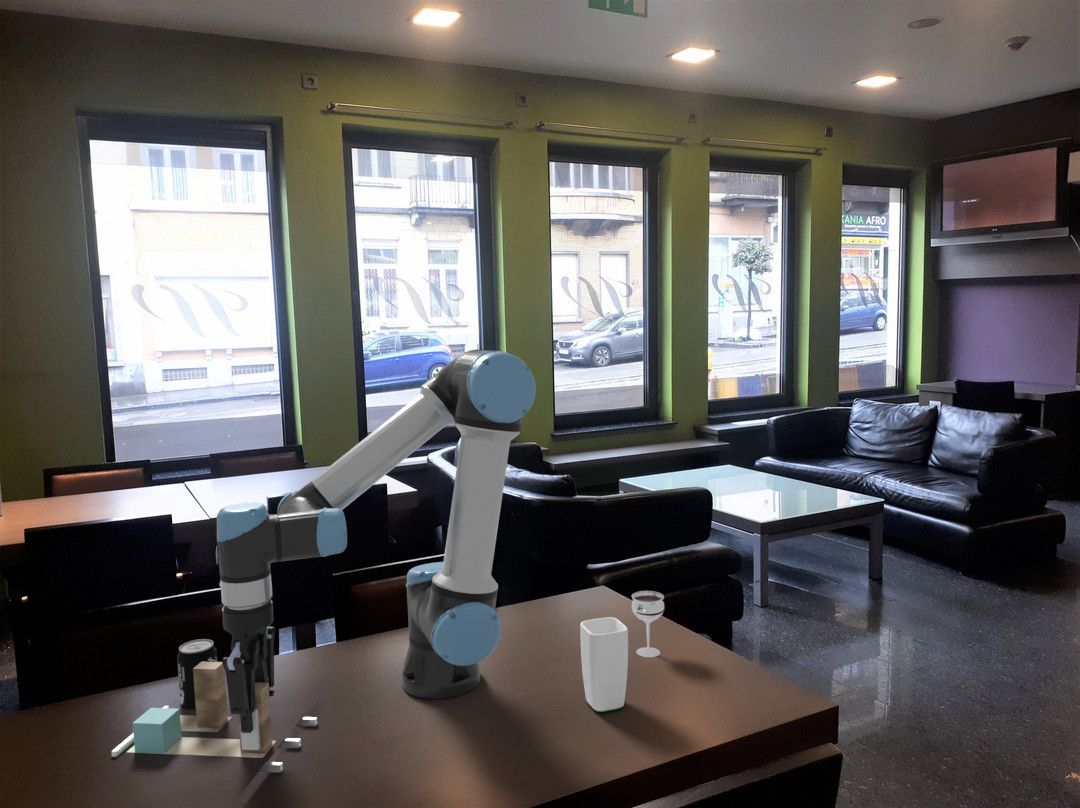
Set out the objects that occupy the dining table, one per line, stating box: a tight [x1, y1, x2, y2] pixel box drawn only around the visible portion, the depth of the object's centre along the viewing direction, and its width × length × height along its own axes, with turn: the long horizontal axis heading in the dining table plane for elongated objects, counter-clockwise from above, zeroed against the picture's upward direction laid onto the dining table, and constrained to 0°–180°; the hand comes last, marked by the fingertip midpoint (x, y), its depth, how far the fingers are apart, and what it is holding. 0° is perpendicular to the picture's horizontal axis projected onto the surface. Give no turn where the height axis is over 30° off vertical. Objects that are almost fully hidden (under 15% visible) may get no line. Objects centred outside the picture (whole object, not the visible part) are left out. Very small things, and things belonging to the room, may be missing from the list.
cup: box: [579, 616, 629, 713], centre depth 141 cm, size 7×7×15 cm
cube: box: [132, 707, 183, 755], centre depth 128 cm, size 5×5×5 cm
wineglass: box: [631, 590, 665, 658], centre depth 163 cm, size 7×7×12 cm
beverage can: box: [176, 638, 218, 711], centre depth 143 cm, size 7×7×12 cm
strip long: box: [126, 682, 277, 759], centre depth 127 cm, size 23×5×12 cm, turn 84°
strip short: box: [180, 661, 233, 733], centre depth 135 cm, size 12×5×12 cm, turn 84°
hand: (256, 742), depth 127 cm, fingers closed on strip long, 3 cm apart
